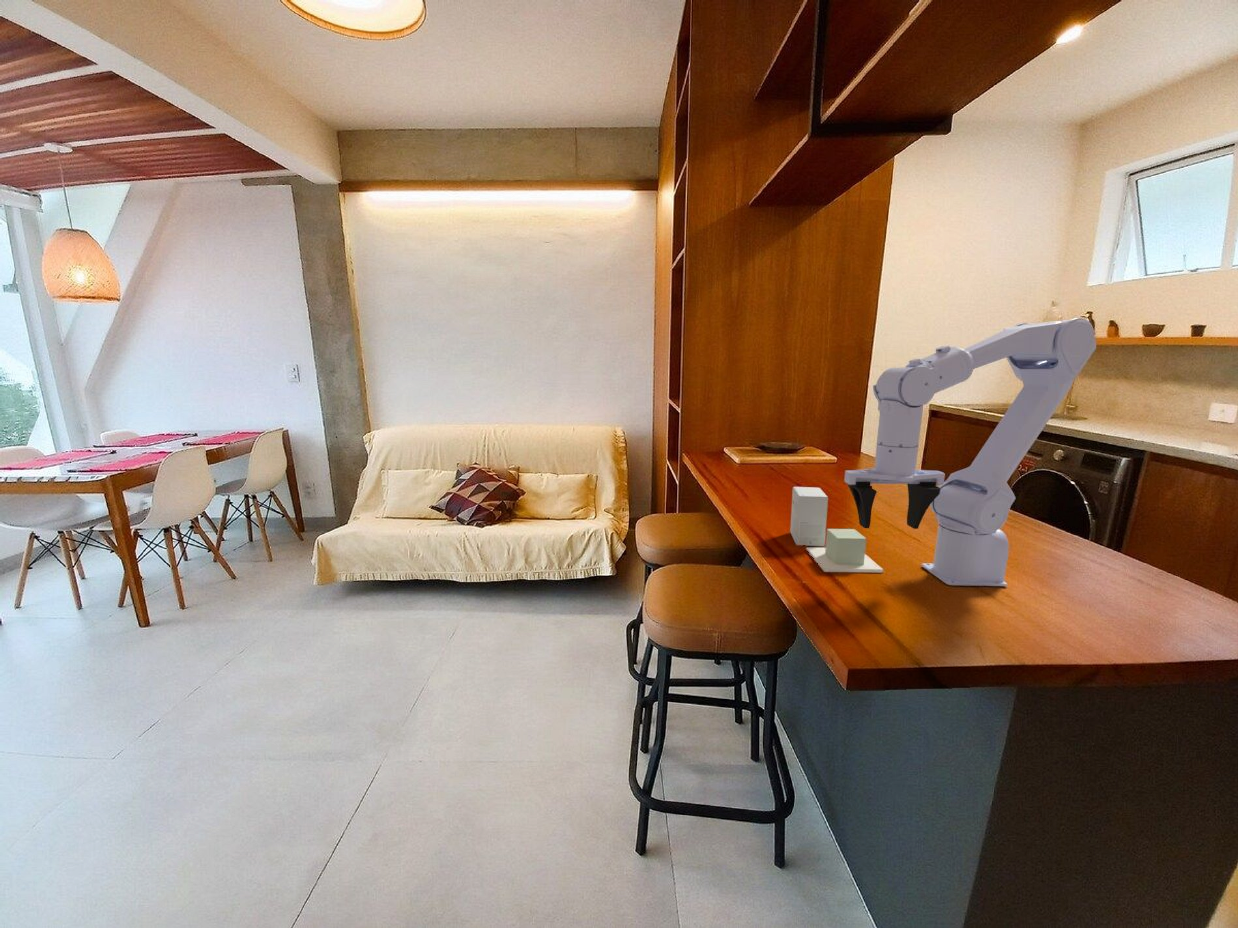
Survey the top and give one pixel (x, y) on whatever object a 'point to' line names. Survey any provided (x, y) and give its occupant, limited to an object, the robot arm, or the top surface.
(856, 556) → the cube
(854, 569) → the tile
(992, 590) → the top surface
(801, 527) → the small box
